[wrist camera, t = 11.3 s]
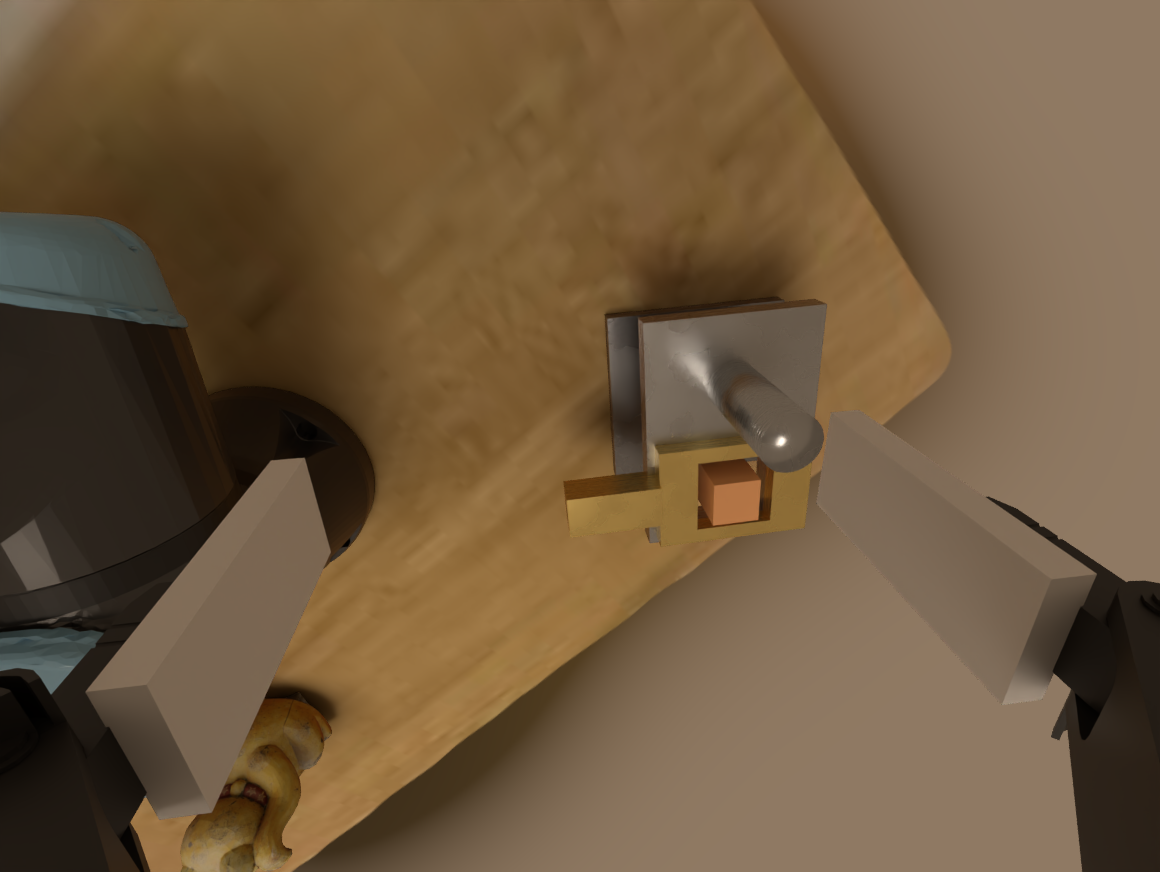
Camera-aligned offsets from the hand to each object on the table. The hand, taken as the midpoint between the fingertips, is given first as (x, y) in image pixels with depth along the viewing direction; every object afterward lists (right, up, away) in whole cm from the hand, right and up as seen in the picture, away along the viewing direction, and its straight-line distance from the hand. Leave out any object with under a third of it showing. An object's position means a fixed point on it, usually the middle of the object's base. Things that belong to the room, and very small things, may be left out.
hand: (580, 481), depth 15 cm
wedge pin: (+9, +1, +31) cm, 32 cm away
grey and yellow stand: (+7, +5, +30) cm, 31 cm away
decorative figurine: (-29, -25, +40) cm, 56 cm away
